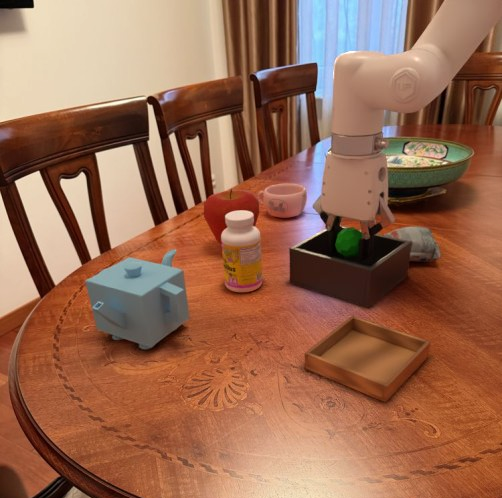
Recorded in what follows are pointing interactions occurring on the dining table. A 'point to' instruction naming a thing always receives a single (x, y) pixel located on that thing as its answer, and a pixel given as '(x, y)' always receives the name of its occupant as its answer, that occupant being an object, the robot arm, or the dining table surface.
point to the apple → (228, 208)
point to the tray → (367, 357)
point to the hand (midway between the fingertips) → (349, 253)
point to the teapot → (139, 300)
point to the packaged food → (418, 243)
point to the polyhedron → (348, 242)
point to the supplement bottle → (241, 252)
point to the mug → (284, 200)
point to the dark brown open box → (350, 268)
